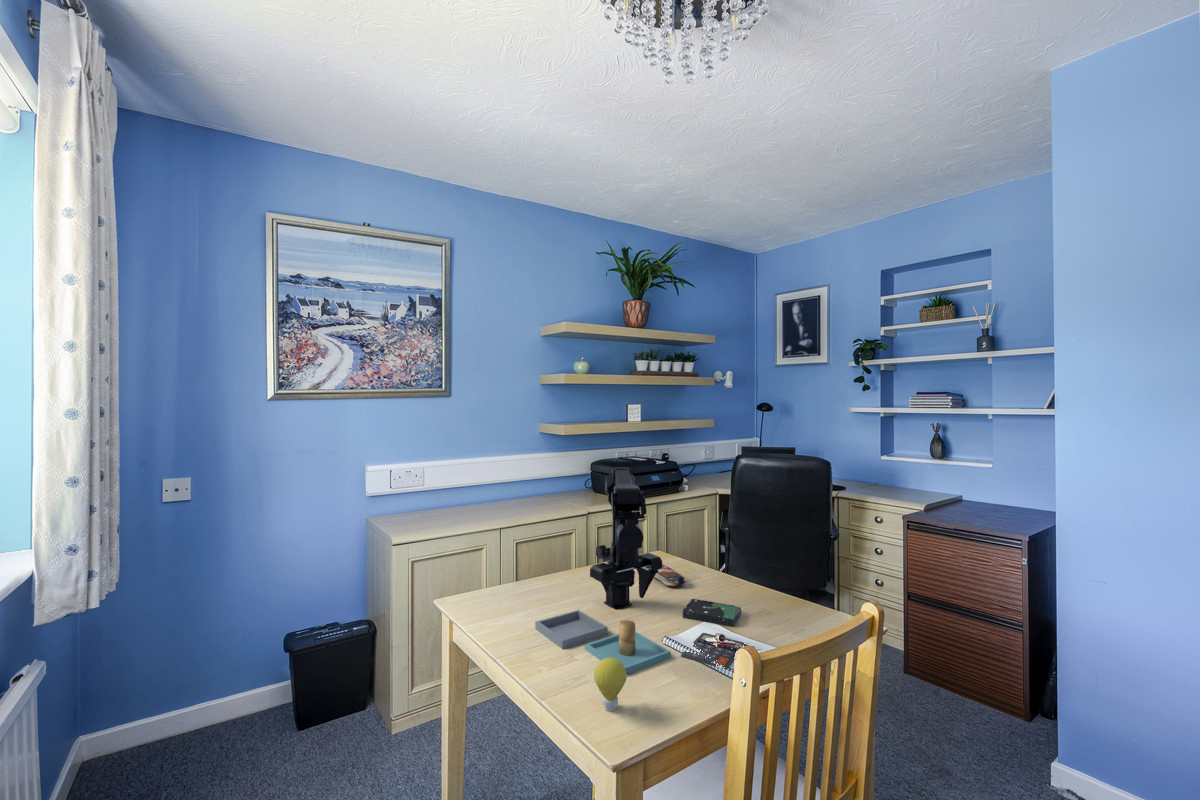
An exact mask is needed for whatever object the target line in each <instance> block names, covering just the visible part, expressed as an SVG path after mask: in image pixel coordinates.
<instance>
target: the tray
mask: <svg viewBox="0 0 1200 800" xmlns="http://www.w3.org/2000/svg"><path fill="white" fill-rule="evenodd" d="M584 650H585V651H587V652H588V653H589V654H590V655H593V657H595V658H596V659H598V660H599V661H601V660H603V659H605V658H615V659H617V660H619V661H620V662H621V663H622V664H623V666H624V667H625V670H626V675H628V674H631V673H634V672H636V671H639V670H641V669H644V668H647V667H650V666H652V665H655V664H657V663H660V662H663V661H666V660H668V659H670V658H671V656H672V655H671V650H669V649H667V648H666V647H664V646H661V644H658V643H656V642H655V641H653V640H652V639H649V638H648V637H646V636H644V635H643V634H640V632H637V631H636V630H635V654H634V655H631V656H624V655H621V654H620V653H619V633H617V634H614V635H611V636H607V637H604V638H601V639H598V640H595V641H592V642H590V643H589V642H588V643H586V644H584Z"/></svg>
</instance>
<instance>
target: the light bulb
mask: <svg viewBox="0 0 1200 800" xmlns="http://www.w3.org/2000/svg"><path fill="white" fill-rule="evenodd" d="M593 679H594V683H595V684H596V686H597V688H598V690H599V692H600V693H601V695H602V702H601V704H602V705H603V706H604V710H605V711H607V712H614V711H616V709H617V706H618V704H619V697H618V695H619V694H620V693H621V691H622V689H623V687H624V686H625V683H626V681H627V674H626V670H625V667H624V666H623V664H622V663H621V662H620V661H619V660H617V659H615V658H605V659H603V660H599V662H598V663H597V664H596V666H595V668H594V672H593Z"/></svg>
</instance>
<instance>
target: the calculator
mask: <svg viewBox="0 0 1200 800" xmlns="http://www.w3.org/2000/svg"><path fill="white" fill-rule="evenodd" d="M716 636H717V635H715V634H711V633H707V632H702V633H701V634H700V635H699V636H698V637H696V638H695V640H694V641H693V642H692V643H694V645H693V647H695V648H696V649H698V650H700V649H701V651H700V653H701V654H702V655H705V656H707V655H708V654H709V656H708V657H707V658H706V659H705V656H702V655H698V654H694V653H691V652H686V651H685V650H684V651H683V652H682V653H681V654H680V657H681V658H683V659H687V660H691V661H694V662H698V663H702V664H705V665H709V666H712V667H716V664H714V663H711V662H714V661H716V660H717V661H716V662H715V663H718V664H721V665H724V667H725V668H728V666H729V665H730V666H731V665H732V664H733V662H734V661H735V660H734V657H735V653H736V651H737V649H738V648H739V647H740V646H742V645H745V646H746V645H747V643H746V644H744V643H745V642H743V641H739V640H734V639H731V638H726V637H723V636H720V637H721V639H724V640H728V641H733V642H735V643H736V645H735V647H733V646H724V645H719V646H718V647H716V646H715V645H712V644H710V643H709V642H708V641H706V640H705V639H706V638H713V637H714V638H715V637H716ZM707 642H708V643H707ZM737 643H738V644H737ZM695 645H696V646H695ZM737 645H739V646H737ZM736 647H737V648H736ZM702 651H703V652H702ZM709 657H711V658H709ZM731 663H732V664H731ZM717 666H718V665H717ZM730 666H729V667H730ZM728 669H729V668H728Z"/></svg>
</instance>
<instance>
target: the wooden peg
mask: <svg viewBox="0 0 1200 800" xmlns="http://www.w3.org/2000/svg"><path fill="white" fill-rule="evenodd" d="M635 631H636V622H634V621H633V620H627V619H626V620H624V619H623V620H621V621H619V623H618V634H619V653H620V654H621V655H624V656H631V655H634V654H635Z"/></svg>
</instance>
